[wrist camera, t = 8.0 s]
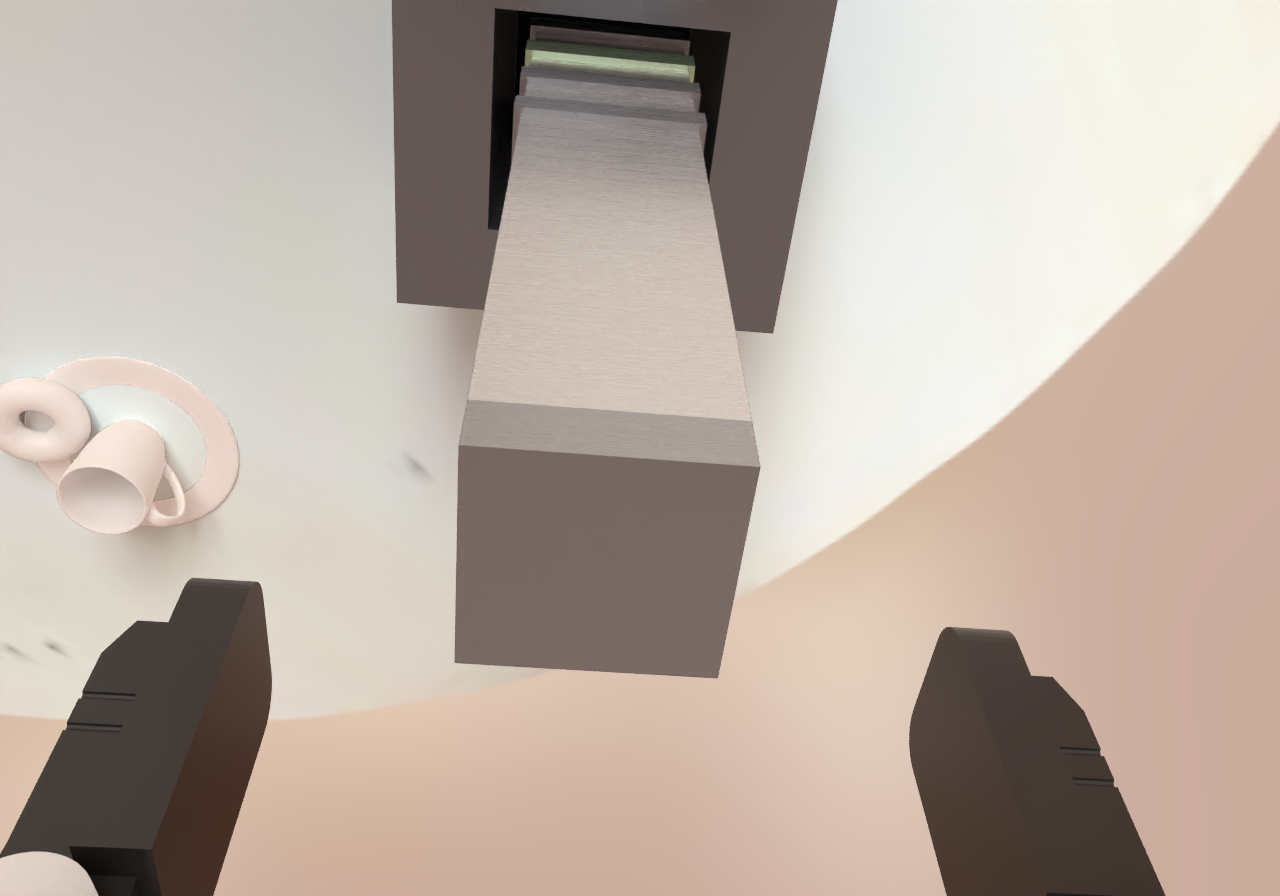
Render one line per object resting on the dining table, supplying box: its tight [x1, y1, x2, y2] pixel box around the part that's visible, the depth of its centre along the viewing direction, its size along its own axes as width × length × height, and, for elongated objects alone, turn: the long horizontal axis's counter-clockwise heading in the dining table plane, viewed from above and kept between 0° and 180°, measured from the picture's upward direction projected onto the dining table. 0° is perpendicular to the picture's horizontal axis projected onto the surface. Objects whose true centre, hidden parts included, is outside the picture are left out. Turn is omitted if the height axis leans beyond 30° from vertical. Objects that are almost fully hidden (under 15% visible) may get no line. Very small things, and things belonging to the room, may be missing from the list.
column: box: [455, 17, 760, 678], centre depth 23 cm, size 4×4×19 cm
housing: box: [392, 0, 838, 333], centre depth 31 cm, size 12×12×11 cm
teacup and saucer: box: [0, 356, 239, 534], centre depth 43 cm, size 9×8×4 cm
